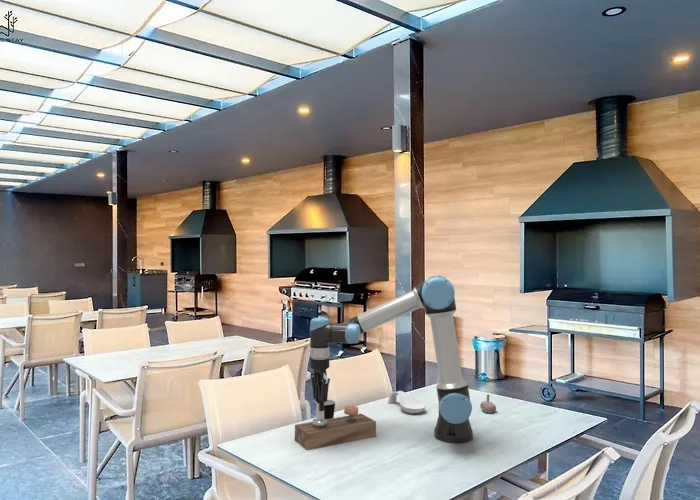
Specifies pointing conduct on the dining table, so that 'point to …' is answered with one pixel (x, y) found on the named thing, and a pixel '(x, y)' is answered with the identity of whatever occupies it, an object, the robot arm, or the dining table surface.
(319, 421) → the grey plunger
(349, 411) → the terracotta plunger
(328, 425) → the button block
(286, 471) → the dining table surface
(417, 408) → the spoon rest
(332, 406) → the coffee mug
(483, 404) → the garlic bulb
